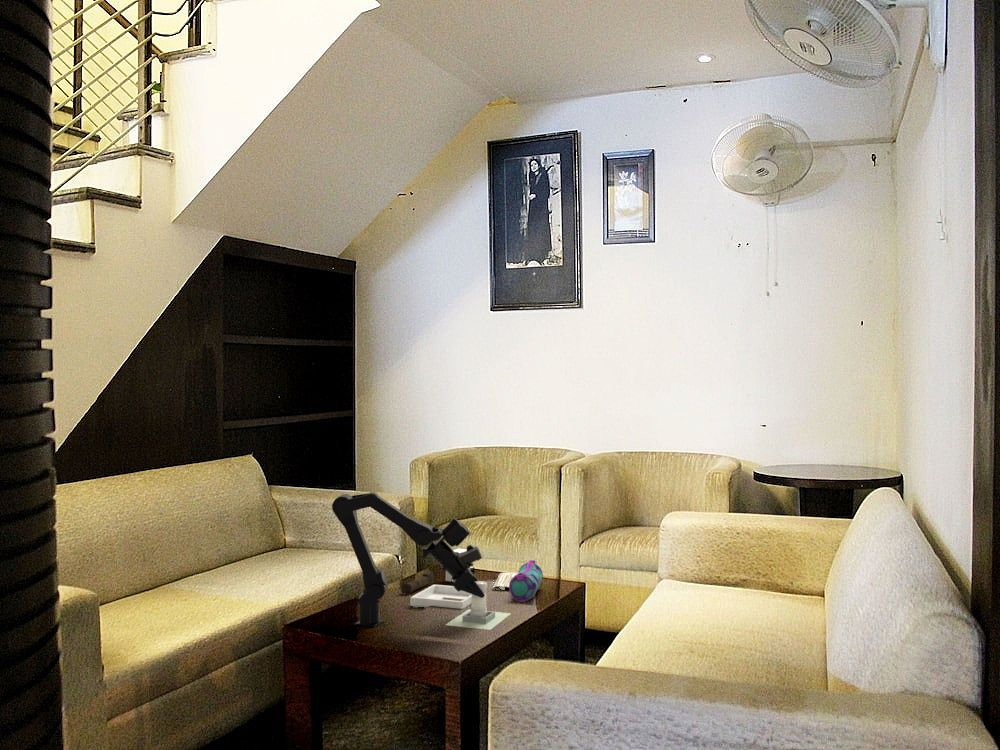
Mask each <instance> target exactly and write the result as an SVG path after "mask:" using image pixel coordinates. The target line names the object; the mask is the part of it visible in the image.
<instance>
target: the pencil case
mask: <svg viewBox="0 0 1000 750" xmlns="http://www.w3.org/2000/svg"><path fill="white" fill-rule="evenodd" d="M543 577H544V575H543V570H542V568H541V567H540V566H539V565H538V564H537V563H536V560H531V559H530V560H529V561H528V562H525V563H524V564H522V565H521V566H520V567H519V569H518V572H517V574H516V575H515V576H514V577H513V578H512V579H511V581H510V583H509V587H508V588H509V589H508V590H509V593H510V595H511V597H512V599H514V600H515V601H517V602H518V603H525V602H527V601H530V600H531V599H532V598H534V597H535V595H536V593H537V591H538V590H539V588H540V585H541V583H542V581H543Z"/></svg>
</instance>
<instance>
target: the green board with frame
mask: <svg viewBox="0 0 1000 750" xmlns="http://www.w3.org/2000/svg"><path fill="white" fill-rule="evenodd" d="M511 614H512V613H510V612H500V611H492V610H491V611H490V610H487V617H485V618H483V617H473V616H471V608H470V609H466V611H463V612H462V614H460V615H458V616H456V617H455V618H453V619H452V620H450V621H448V623H446V624H445V626H450V627H459V628H470V629H480V630H486V631H487V630H488V631H491V630H492V629H494V628H495V627H496V626H498V624H500V623H501V622H502V621H503V620H505V619H507V618H508V617H509V616H510V615H511Z"/></svg>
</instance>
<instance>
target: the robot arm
mask: <svg viewBox="0 0 1000 750" xmlns="http://www.w3.org/2000/svg"><path fill="white" fill-rule="evenodd" d="M365 508H371V509H373V510H374V511H376V512H377V513H379V514H380V515H382V516H383V517H384V518H386V519H387V520H388V521H390V522H392V523H393V524H395V525H396V526H397V527H399V528H401V529H402V530H403V531H404V532H405V533H406V535H408V537H409V538H410V539H411V540H412V541H413V542H414V543H415V544H417V545H418V546H420V547H422V549H421V551H422V558H423V559H426V558H427V557H428V556H429V555H430V557H431V558H433V560H434V561H436V562H437V564H438V565H439V566H440V567H441V570H443V571H445V572H446V571H447V572H448V573H449V574H450V575H451V576H452V579H453V580H454V582H453V586H454V588H455V589H456V590H457V591H458V592H459V591H460V590H461V591H465V592H468V593H470V594H473V595H476V596H478V597H481V598H483V597H484V596H485V595H484V593H483V592H482V590H481V589H480V587H479V586H478V585H477V583H476V582H475V581H479V580H478V579H477V577H476V574H475V573H476V572H475V571H476V569H475V567H473V566H474V563H475V562H477V561H480V560H482V557H483V556H482V554H481V551H480V550H479V547H478V546H474V545H472V544H469V545H467V546H466V549H467V551H466V552H464V553H462V554H459V553H458V552H454V551H453V550H454V549H452V548H451V547H459V546H460V545H461V544H462V543H463V541H465V539H467V538H468V536H469V535H470V534H471V530H469V528H467V526H466V525H465V524H464V523H463V522H461V521H459V520H458V519H457V518H456V517H453V518H451V520H450V522H449V523H448V524H446V526H445V527H444V528H438V527H432V526H431V525H430V524H429V523H426V522H424V521H422V520H420V519H416V518H413V517H411V516H409V515H408V514H406V513H405V512H403V511H402V510H400V509H399V508H398V507H396V506H394V505H393V504H392V503H390V502H389V501H387V500H386V499H384V498H383V497H381V496H380V495H379V494H378V493H377V492H375V491H370V492H368V493H361V494H360V493H359V494H354V495H350V494H348V493H343V494H340V495H339V496H337V497H336V498H335V499H334V500H333V502H332V504H331V510H332V512H333V513H334V515H335V517H336V518H337V519H338V521H339V522H340V523H341V525H342V526H343V527H344V529H345V532H346V534H347V536H348V539H349V542H350V544H351V546H352V549H353V551H354V553H355V556H356V559H357V562H358V564H359V566H360V569H361V572H362V579H363V586H364V587H363V588H364V589H363V590H362V592H361V594H360V595H359V597H358V599H357V602H358V605H359V621H357V622H354V626H361V625H362V627H370V626H371V627H372V628H373V627H377V626H379V625H380V624H381V623H384V622H385V619H381V618H380V617H381V616H380V614H381V611H380V607H381V606H380V599H382V598H383V597H384V595H385V593H386V590H387V588H388V582H389V579H388V577H387V576H386V572H385V569H384V567H382V568H380V569H379V568H378V566H377V565H376V563H375V562H374V561H375V560H374V559H373V556H372V554H371V551H370V549H369V546H368V543H367V541H366V539H365V535H364V534H363V530H362V528H361V525H360V524H359V521H358V512H357V511H359V510H362V509H365ZM424 546H427V547H424ZM469 567H470V569H468V568H469ZM471 567H472V568H471ZM371 627H370V628H371Z"/></svg>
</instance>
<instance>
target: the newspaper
mask: <svg viewBox="0 0 1000 750" xmlns="http://www.w3.org/2000/svg"><path fill="white" fill-rule="evenodd" d="M516 574H518V572H517V573H514V572H500V573H499V575H498V578H497V580H496V582H495V584H494V586H493V587H492V590H493V591H501V590H500V588H499V587H506V588H509V583H510V581H511V579H512V578H513V577H514V576H515V575H516ZM493 583H494V582H492V584H493ZM495 589H496V590H495Z"/></svg>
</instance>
